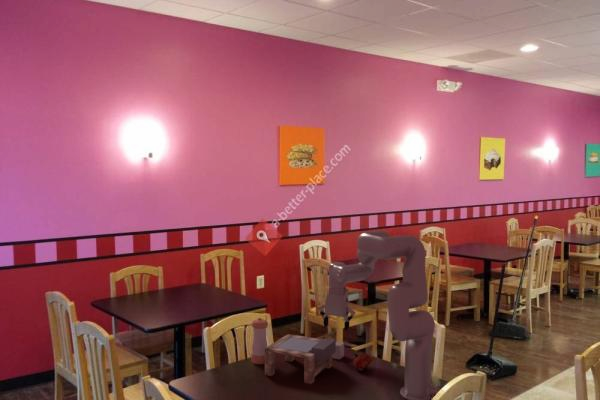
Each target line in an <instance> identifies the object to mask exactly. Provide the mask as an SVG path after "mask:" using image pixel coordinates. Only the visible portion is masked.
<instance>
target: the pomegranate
mask: <svg viewBox="0 0 600 400" xmlns="http://www.w3.org/2000/svg"><path fill="white" fill-rule="evenodd" d="M353 356H355V359H354V361H353V365H354V368H355V369H356V370H357V371H359V372H363V371H364V370H365V369H366V368H367V369H368V370H369V372H372V370H371V369H370V368H369V367H368V366H369V365H370V364H371V362H372V361H373V359H372V357H371V356H370V355H369V354H367V353H365V352H363V353H359V354H356V353H354V354H353Z"/></svg>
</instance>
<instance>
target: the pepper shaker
mask: <svg viewBox="0 0 600 400" xmlns="http://www.w3.org/2000/svg"><path fill="white" fill-rule="evenodd" d="M268 324H269V323H268V321H267V320H266V319H264V318H262V317H258V318H256V319H254V320H253V321H252V322H251V326H252V328H253V333H252V334H253V336H252V337H253V338H252V344H251V351H252V352H251V354H250V355H251V356H250V357H251V359H250V360H251V363H252V364H255V365H263V364H264V365H265V348H266V347H268V341H267V327H268V326H269V325H268Z"/></svg>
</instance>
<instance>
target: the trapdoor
mask: <svg viewBox="0 0 600 400" xmlns="http://www.w3.org/2000/svg"><path fill="white" fill-rule="evenodd" d="M322 339H323V340H322V341H320V342H318V341H311V340H305V339H299V338H293V337H291V338H290V339H288V340H287V341H285V342H283V343H282V344H280V345H279V346H277V347H276V348H282V349H288V350H294V351H300V352H306V353H312V354H315V358H314V362H324V361H325V360H326V359H327V358H329V357H330V356H331V355H332V354H334V353H335V352H336V342H337V341H336V339H332V338H326V337H325V338H322Z"/></svg>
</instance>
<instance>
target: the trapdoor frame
mask: <svg viewBox="0 0 600 400" xmlns="http://www.w3.org/2000/svg"><path fill="white" fill-rule="evenodd" d="M291 337H293V338H299V339H305V340H311V341H318V342H320V341H322V340H323V339H324V338H316V337H309V336H302V335H296V334H291V333H290V334H289V333H287V334H286V335H283V337H281V338H279V339H278V340H275V342H273V343H271V344H269V345H267V347H266V348H265V364H264V376H269V377H272V376H274V375H275V374H276V373H275V372H276V363H275V360H276V353H277V354H281V355H284V360H285V361H284V362H290V363H291V362H293V361H294V360H295V357H297V358H298V357H299V358H303V359H304V362H303V363H304V364H303V367H304V371H303V372H304V373H303V376H304V377H303V379H304V383H305V384H309V385H312V384H313V383H314V382H315V377H316V376H317V375H319V374H320V373H321V372H322V371H323V370H325V369H331V367H332V366H333V358H332V355H331V356H330V357H329V358H327V359H326V360H325V361H324V362H320V361H318V363H316V364H315V361H314V358H315V354H312V352H310V353H306V352H300V351H294V350H288V349H282V348H276V347H277V346H279V345H280V344H282V343H283V342H285V341H287V340H288V339H290V338H291ZM304 383H303V384H304Z"/></svg>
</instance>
